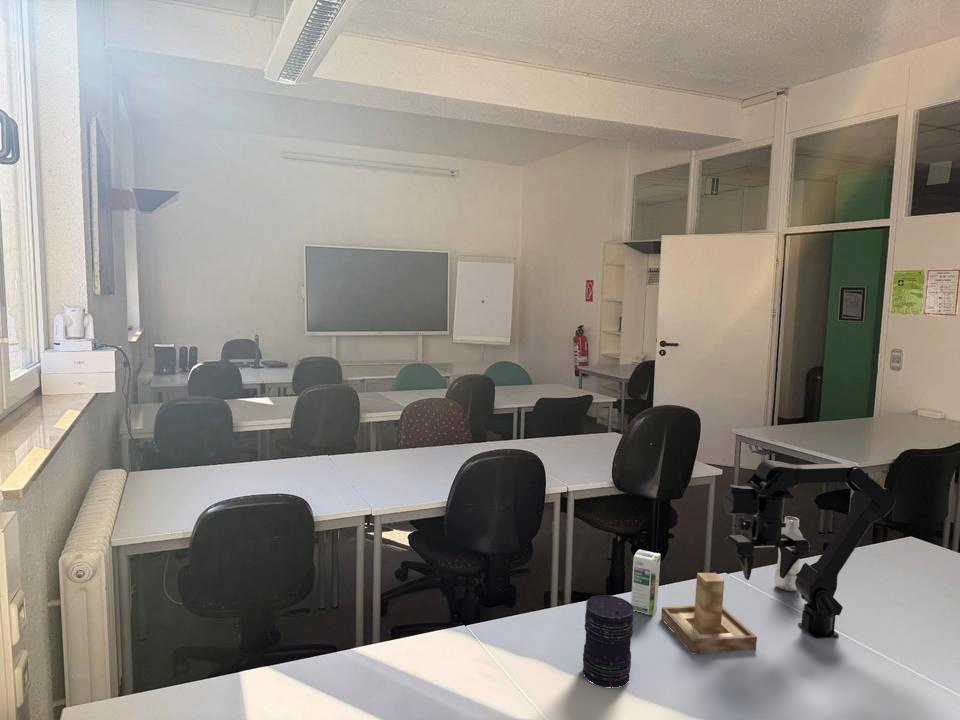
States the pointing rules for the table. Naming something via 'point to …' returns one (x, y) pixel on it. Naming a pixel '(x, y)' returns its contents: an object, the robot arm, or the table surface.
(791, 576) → the plastic bottle
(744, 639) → the socket box
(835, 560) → the robot arm
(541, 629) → the table surface
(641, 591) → the syrup box
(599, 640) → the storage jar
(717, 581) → the peg
